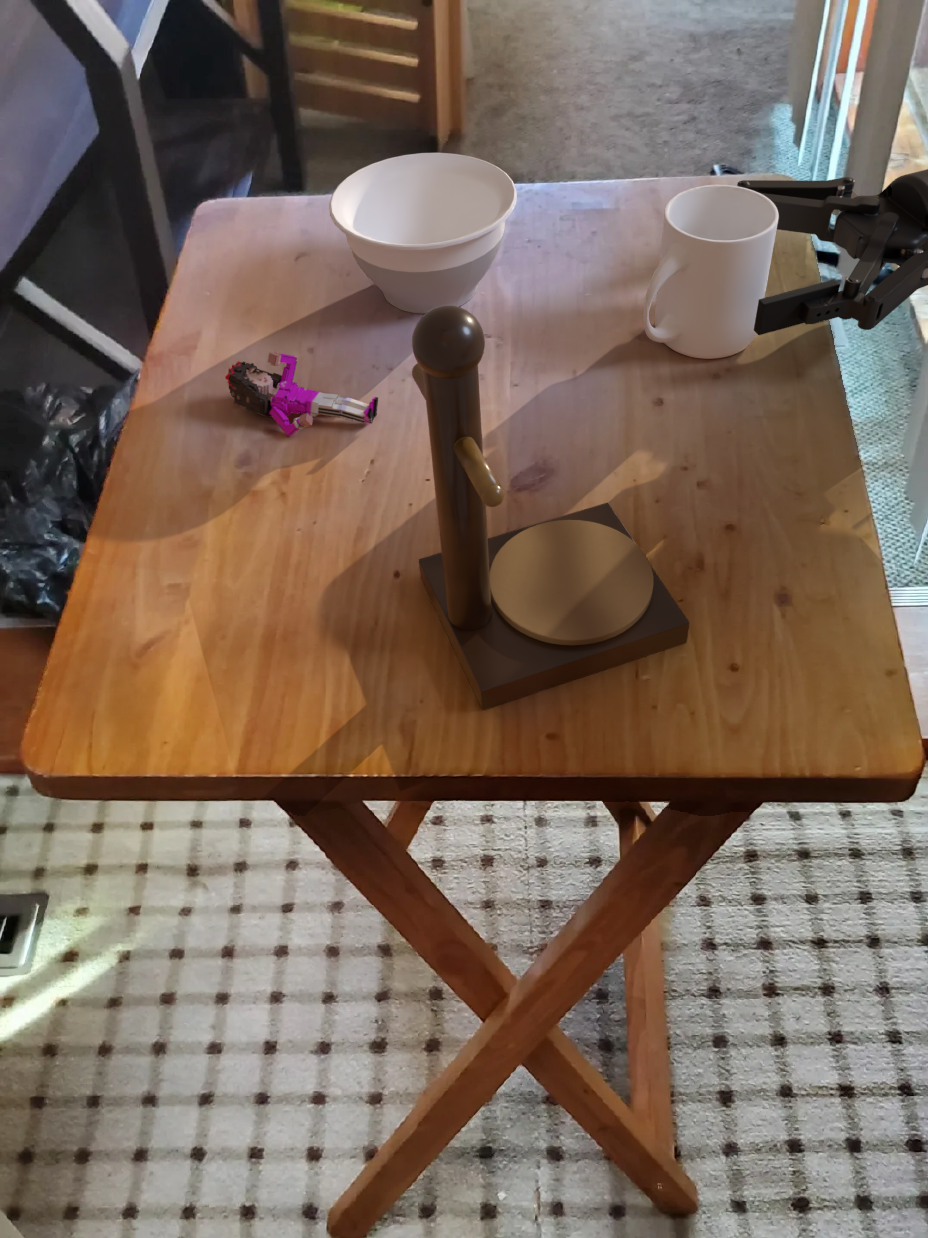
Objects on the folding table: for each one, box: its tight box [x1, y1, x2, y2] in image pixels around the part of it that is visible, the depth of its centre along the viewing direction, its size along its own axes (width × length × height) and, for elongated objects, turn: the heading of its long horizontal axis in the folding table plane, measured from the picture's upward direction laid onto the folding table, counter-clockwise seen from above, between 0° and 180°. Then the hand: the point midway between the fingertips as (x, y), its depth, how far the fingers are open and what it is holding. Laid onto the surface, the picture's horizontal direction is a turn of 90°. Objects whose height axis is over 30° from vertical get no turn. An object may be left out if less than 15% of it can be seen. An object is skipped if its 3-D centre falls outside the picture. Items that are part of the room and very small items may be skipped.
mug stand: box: [411, 305, 690, 711], centre depth 62 cm, size 14×12×24 cm
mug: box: [642, 184, 779, 360], centre depth 86 cm, size 9×12×11 cm
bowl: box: [328, 152, 518, 315], centre depth 94 cm, size 16×16×8 cm
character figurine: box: [224, 351, 379, 437], centre depth 84 cm, size 6×5×12 cm
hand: (714, 273), depth 86 cm, fingers open, 13 cm apart
